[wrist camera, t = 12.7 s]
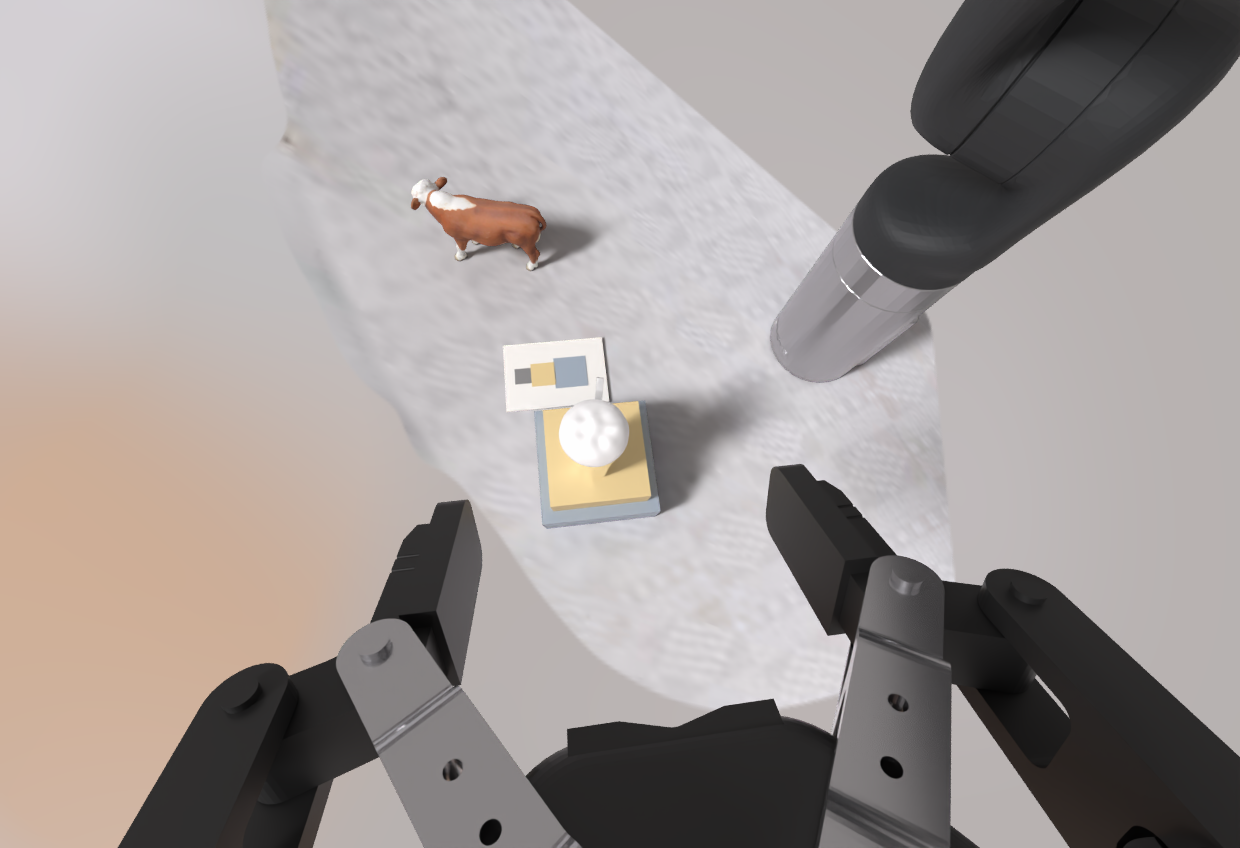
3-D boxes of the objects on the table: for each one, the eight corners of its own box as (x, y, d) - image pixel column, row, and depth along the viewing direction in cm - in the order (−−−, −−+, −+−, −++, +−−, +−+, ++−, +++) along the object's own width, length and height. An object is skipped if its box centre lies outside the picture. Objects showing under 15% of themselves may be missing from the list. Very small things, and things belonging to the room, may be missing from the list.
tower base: (641, 414, 48) (648, 388, 42) (655, 516, 45) (665, 507, 39) (539, 424, 47) (529, 400, 41) (546, 528, 45) (538, 521, 38)
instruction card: (601, 338, 50) (601, 336, 50) (609, 402, 48) (609, 401, 48) (503, 347, 50) (502, 345, 49) (507, 412, 48) (506, 411, 47)
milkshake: (627, 426, 40) (636, 381, 31) (618, 490, 39) (626, 464, 29) (572, 419, 40) (564, 372, 31) (562, 483, 39) (551, 454, 29)
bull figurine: (434, 221, 54) (407, 161, 46) (554, 247, 53) (547, 191, 45) (421, 254, 52) (390, 199, 44) (544, 281, 52) (535, 229, 44)
